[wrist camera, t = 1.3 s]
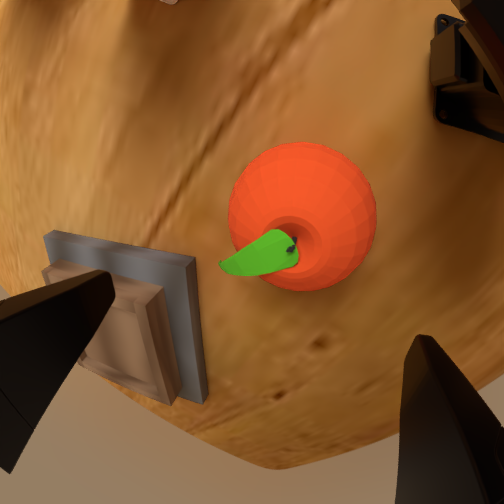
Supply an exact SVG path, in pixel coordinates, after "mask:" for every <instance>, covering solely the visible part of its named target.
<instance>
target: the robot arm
mask: <svg viewBox="0 0 504 504" xmlns="http://www.w3.org/2000/svg"><path fill="white" fill-rule="evenodd" d="M451 1H452V3H453V4H454V5H455V6H456V8H457V9H458V10H459V12H460V14H461V15H462V16H463V17H464V19H465V20H466V21H463V20H460V19H457V18H454V17H451V16H448V15H445V14H440V15H438V16H437V17H436V18H435V38H433V39H432V40H431V42H430V46H431V58H430V82H431V84H432V85H433V86H434V87H435V91H434V106H433V116H434V118H435V120H436V121H437V122H439V123H442V124H446V125H450V126H453V127H457V128H460V129H463V130H467V131H470V132H473V133H476V134H479V135H482V136H485V137H488V138H491V139H494V140H497V141H499V142H502V143H504V0H451ZM441 20H444V21H445V22H446V23H447V26H445V25H443V24H442V23H441ZM441 110H443V111H444V112H445V118H443V119H442V118H441V117H440V116H439V112H440V111H441ZM115 297H116V292H115V288H114V284H113V280H112V276H111V274H110V272H108V271H105V270H101V269H98V270H94V271H91V272H88V273H85V274H81V275H78V276H75V277H72V278H69V279H65V280H62V281H59V282H56V283H53V284H50V285H47V286H43V287H40V288H37V289H34V290H31V291H28V292H25V293H22V294H19V295H16V296H13V297H10V298H7V299H6V300H5V299H4V300H1V301H0V467H1V468H2V469H3V470H5V471H6V472H7V473H9V474H10V473H11V472H12V471H13V469H14V467H15V465H16V463H17V461H18V459H19V457H20V455H21V453H22V452H23V450H24V448H25V446H26V444H27V442H28V440H29V439H30V437H31V435H32V433H33V432H34V429H35V428H36V426H37V424H38V422H39V421H40V419H41V417H42V416H43V414H44V412H45V411H46V409H47V407H48V406H49V404H50V402H51V401H52V399H53V398H54V396H55V394H56V393H57V391H58V390H59V388H60V386H61V385H62V383H63V382H64V380H65V379H66V377H67V375H68V374H69V372H70V371H71V369H72V368H73V366H74V364H75V363H76V362H77V360H78V359H79V357H80V356H81V354H82V353H83V351H84V350H85V348H86V347H87V345H88V344H89V343H90V341H91V340H92V338H93V337H94V335H95V333H96V332H97V330H98V328H99V326H100V325H101V323H102V321H103V319H104V318H105V316H106V314H107V312H108V311H109V309H110V307H111V306H112V304H113V302H114V300H115ZM399 437H400V438H399V462H398V476H397V488H396V498H395V504H504V428H503V427H501V423H500V422H499V420H498V419H497V418H496V416H495V415H494V414H493V412H492V411H491V410H490V408H489V407H488V406H487V404H486V403H485V402H484V400H483V399H482V397H481V396H480V395H479V394H478V392H477V391H476V390H475V388H474V387H473V386H472V385H471V383H470V382H469V381H468V379H467V378H466V377H465V376H464V374H463V373H462V372H461V371H460V369H459V368H458V367H457V366H456V365H455V363H454V362H453V361H452V360H451V358H450V357H449V356H448V355H447V354H446V352H445V351H444V350H443V349H442V348H441V347H440V345H439V344H438V343H437V342H436V341H435V339H434V338H433V337H432V336H429V335H421V334H419V335H417V336H416V337H415V339H414V341H413V343H412V345H411V347H410V349H409V351H408V353H407V355H406V358H405V361H404V372H403V386H402V397H401V407H400V436H399Z"/></svg>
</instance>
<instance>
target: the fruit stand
mask: <svg viewBox="0 0 504 504" xmlns="http://www.w3.org/2000/svg"><path fill="white" fill-rule="evenodd" d="M43 238H44V242H45V246H46V249H47V253H48V257H49V260H50V264H51V265H49V266H48V267H47V268H45V269H44V270H42V271H41V272H42V275H43V278H44V281H45V284H46V286H47V285H50V284H53V283H56V282H59V281H62V280H65V279H69V278H72V277H75V276H78V275H81V274H85V273H88V272H91V271H94V270H98V269H101V270H105V271H108V272H110V274H111V276H112V280H113V284H114V288H115V292H116V297H115V300H114V302H113V304H112V306H111V307H110V309H109V311H108V312H107V314H106V316H105V318H104V319H103V321H102V323H101V325H100V326H99V328H98V330H97V332H96V333H95V335H94V337H93V338H92V340H91V341H90V343H89V344H88V345H87V347H86V348H85V350H84V351H83V353H82V354H81V356H80V357H79V359H78V360H77V362H78V364H79V365H80V366H82V367H84V368H86V369H88V370H90V371H92V372H94V373H96V374H98V375H100V376H102V377H104V378H106V379H108V380H110V381H112V382H114V383H117V384H119V385H121V386H123V387H125V388H128V389H130V390H132V391H135V392H137V393H139V394H142V395H144V396H146V397H149V398H151V399H154V400H156V401H159V402H161V403H164V404H167V405H169V406H172V404H173V402H174V401H175V399H176V397H177V396H179V397H181V398H184V399H187V400H190V401H193V402H196V403H199V404H203V403H204V401H205V400H206V398H207V396H208V387H207V379H206V371H205V362H204V353H203V344H202V334H201V324H200V313H199V302H198V290H197V277H196V263H195V257H191V256H186V255H180V254H175V253H169V252H164V251H159V250H153V249H148V248H143V247H138V246H132V245H127V244H122V243H117V242H112V241H106V240H101V239H96V238H91V237H86V236H81V235H76V234H71V233H66V232H61V231H56V230H53V231H51V232H50V233H48V234H46V235H44V236H43Z"/></svg>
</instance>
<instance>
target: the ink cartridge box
mask: <svg viewBox="0 0 504 504" xmlns="http://www.w3.org/2000/svg"><path fill="white" fill-rule="evenodd" d="M160 1H162V2H165V3H168V4H172V5H173V4H175V3H176V2H177V1H178V0H160Z"/></svg>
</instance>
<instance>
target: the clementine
mask: <svg viewBox="0 0 504 504" xmlns="http://www.w3.org/2000/svg"><path fill="white" fill-rule="evenodd" d="M228 222H229V228H230V233H231V238H232V242H233V244H234V246H235V248H236V250H237V253H236V254H234V255H233V256H231V257H230V258H228V259H226V260H225V261H223V262H221V260H220V262H219V263H218V264H219V266H220V267H221V269H222V270H224V271H225V272H226V273H228V274H232V275H240V276H254V275H258V276H259V277H260V278H262V279H263V280H265V281H267V282H269V283H271V284H273V285H275V286H277V287H280V288H284V289H289V290H293V291H314V290H319V289H323V288H327V287H330V286H332V285H334V284H335V283H337V282H339V281H341V280H343V279H344V278H346V277H347V276H348V275H349V274H350V273H351V272H352V271H353V270H354V269H355V268H357V267H358V266H359V265H360V264H361V263H362V261H363V260H364V258H365V256H366V255H367V253H368V251H369V250H370V248H371V245H372V241H373V238H374V234H375V230H376V202H375V199H374V196H373V193H372V190H371V187H370V184H369V183H368V181H367V180H366V178H365V177H364V175H363V174H362V172H361V171H360V169H359V168H358V167H357V166H356V165H355V164H354V163H352V162H351V161H350V160H349V159H348V158H346V157H345V156H344V155H343V154H341V153H339V152H337V151H335V150H333V149H330V148H328V147H326V146H324V145H319V144H313V143H307V142H297V143H288V144H282V145H279V146H277V147H274V148H272V149H269V150H267V151H265V152H263V153H262V154H261V155H259V156H258V157H257V158H256V159H254V160H253V161H252V162H251V163H249V165H248V166H247V167H246V169H245V170H244V172H243V173H242V175H241V176H240V177H239V179H238V180H237V182H236V183H235V185H234V188H233V191H232V194H231V197H230V200H229V213H228Z"/></svg>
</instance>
